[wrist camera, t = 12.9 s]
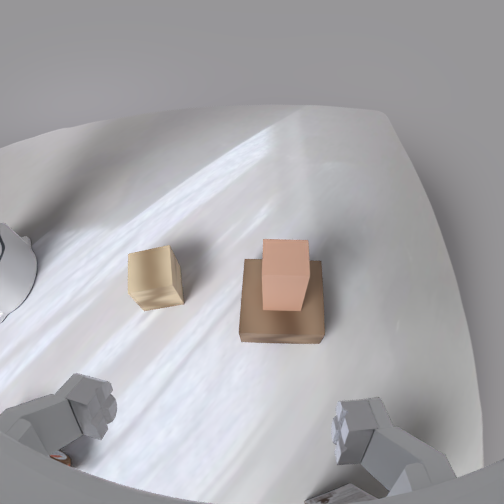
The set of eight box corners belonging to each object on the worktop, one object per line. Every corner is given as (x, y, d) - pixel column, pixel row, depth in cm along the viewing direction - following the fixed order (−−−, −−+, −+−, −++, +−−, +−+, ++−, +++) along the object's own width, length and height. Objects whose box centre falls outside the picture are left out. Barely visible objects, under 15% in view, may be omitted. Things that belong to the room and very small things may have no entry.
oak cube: (144, 311, 41) (127, 293, 36) (142, 274, 44) (128, 253, 39) (184, 304, 41) (172, 285, 36) (180, 267, 45) (169, 245, 39)
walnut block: (241, 341, 38) (238, 332, 35) (246, 273, 43) (244, 258, 40) (319, 343, 37) (324, 334, 34) (317, 275, 43) (321, 260, 39)
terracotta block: (263, 310, 36) (261, 274, 28) (264, 280, 38) (263, 239, 31) (300, 310, 36) (309, 275, 28) (300, 281, 38) (308, 240, 30)
